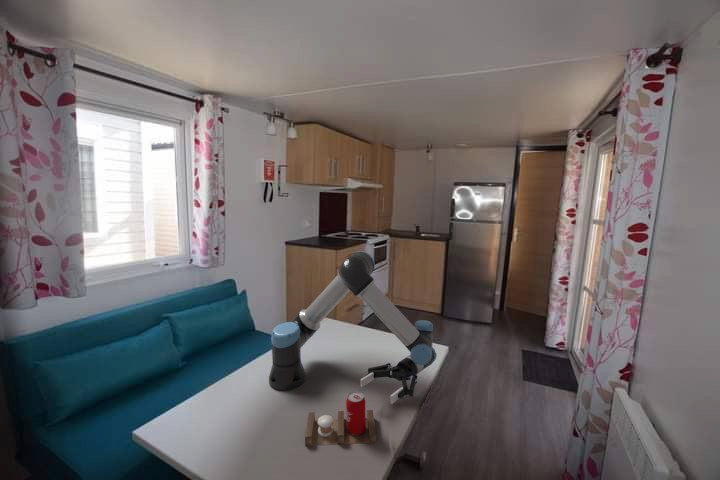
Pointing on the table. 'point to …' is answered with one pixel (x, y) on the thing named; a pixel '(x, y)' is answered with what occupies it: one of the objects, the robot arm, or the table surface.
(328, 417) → the white knob
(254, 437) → the table surface
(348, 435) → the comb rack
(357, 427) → the beverage can
